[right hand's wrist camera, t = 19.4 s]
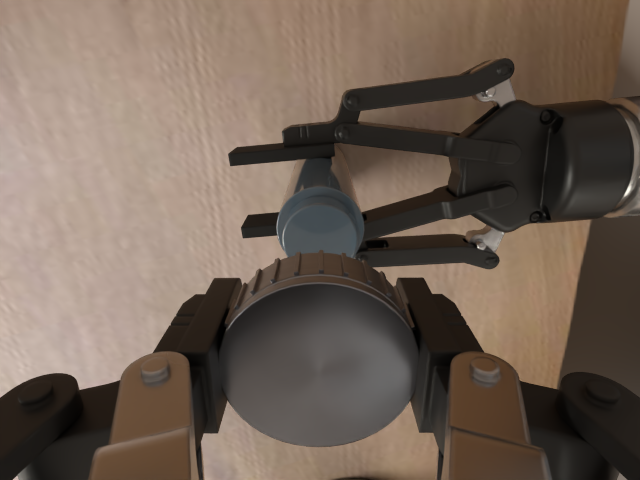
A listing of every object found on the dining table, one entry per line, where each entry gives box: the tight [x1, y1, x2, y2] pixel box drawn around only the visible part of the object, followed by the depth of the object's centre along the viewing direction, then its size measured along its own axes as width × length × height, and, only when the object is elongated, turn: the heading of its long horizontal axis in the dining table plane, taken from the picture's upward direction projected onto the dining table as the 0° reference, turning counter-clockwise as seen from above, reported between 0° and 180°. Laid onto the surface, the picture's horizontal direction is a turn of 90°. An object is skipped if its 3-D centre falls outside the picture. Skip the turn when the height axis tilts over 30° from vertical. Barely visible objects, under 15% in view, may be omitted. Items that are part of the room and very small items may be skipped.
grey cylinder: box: [276, 145, 364, 258], centre depth 25 cm, size 4×4×17 cm
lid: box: [219, 250, 419, 447], centre depth 10 cm, size 5×5×2 cm
